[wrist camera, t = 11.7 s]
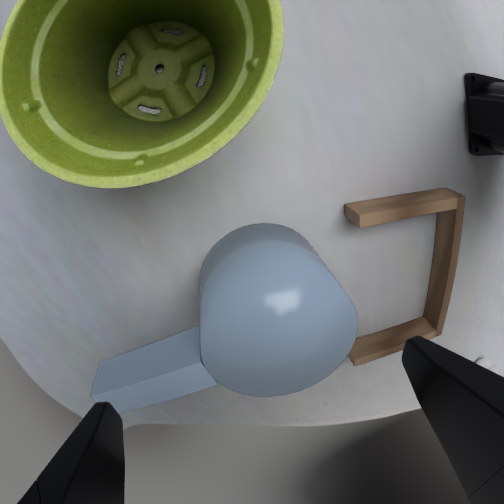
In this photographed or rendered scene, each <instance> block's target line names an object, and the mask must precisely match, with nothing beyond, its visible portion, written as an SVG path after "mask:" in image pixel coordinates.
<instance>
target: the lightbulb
mask: <svg viewBox="0 0 504 504" xmlns="http://www.w3.org/2000/svg"><path fill="white" fill-rule="evenodd" d="M476 364H478V365H480V366H482V367H484V368H486V369H488V370H491V371H493V372H495V373H497V374H499V375H501V376H503V377H504V372H503V371H502V370H501V369H499V368H498V367H497V366H496V365H495V366H494V365H493V364H492V363H491V362H490V361H489V360H488V359H487V358H482V359H479V360H477V361H476Z"/></svg>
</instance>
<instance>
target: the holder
mask: <svg viewBox="0 0 504 504" xmlns="http://www.w3.org/2000/svg"><path fill="white" fill-rule="evenodd" d="M464 202H465V196H463V195H461V194H459V193H457V192H455V191H452V190H450V189H448V188H440V189H434V190H427V191H420V192H414V193H408V194H401V195H395V196H389V197H383V198H377V199H371V200H365V201H359V202H353V203H347V204H344V206H345V216H346V217H347V218H348V219H350V220H351V221H352V222H353V223H354V224H356V225H357V226H358V227H359V228H362V227H367V226H372V225H377V224H382V223H387V222H392V221H397V220H402V219H407V218H412V217H417V216H422V215H427V214H432V213H437V224H436V235H435V245H434V254H433V262H432V269H431V276H430V283H429V289H428V295H427V300H426V306H425V311H424V316H423V317H420V318H418V319H415V320H412V321H409V322H406V323H404V324H401V325H398V326H395V327H392V328H389V329H386V330H383V331H380V332H377V333H373V334H370V335H367V336H364V337H361V338H357V339H355V342H354V344H353V346H352V348H351V350H350V352H349V354H348V356H349V358H350V360H351V361H352V363H353V365H354V366H357V365H361V364H364V363H367V362H370V361H373V360H376V359H379V358H381V357H384V356H387V355H390V354H393V353H396V352H398V351H401V350H403V349H404V345H405V341H406V340H407V339H408V338H410V337H413V336H416V335H419V336H422V337H424V338H426V339H428V340H429V339H432V338H434V337H436V336H439V335H441V333H442V329H443V325H444V321H445V318H446V314H447V309H448V305H449V301H450V296H451V292H452V287H453V282H454V277H455V271H456V266H457V260H458V253H459V247H460V240H461V232H462V223H463V213H464Z"/></svg>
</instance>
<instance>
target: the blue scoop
mask: <svg viewBox="0 0 504 504" xmlns="http://www.w3.org/2000/svg"><path fill="white" fill-rule="evenodd" d="M357 330H358V317H357V312H356V309H355V306H354V304H353V302H352V301H351V299H350V298H349V296H348V295H347V293H346V292H345V291H344V289H343V288H342V286H341V285H340V284H339V282H338V281H337V280H336V278H335V277H334V275H333V274H332V273H331V271H330V270H329V269H328V267H327V266H326V265H325V263H324V262H323V261H322V259H321V258H320V257H319V255H318V254H317V253H316V251H315V250H314V249H313V247H312V246H311V245H310V243H309V242H308V241H307V240H306V239H305V238H304V237H303V236H302V235H300V234H299V233H297V232H296V231H294V230H292V229H290V228H288V227H285V226H282V225H278V224H271V223H260V224H252V225H248V226H244V227H241V228H239V229H236V230H234V231H232V232H230V233H229V234H227V235H226V236H224V237H223V238H222V239H220V240H219V241H218V242H217V243H216V244H215V245H214V246H213V247H212V249H211V250H210V251H209V253H208V254H207V256H206V258H205V260H204V262H203V265H202V268H201V273H200V325H198V326H196V327H193V328H191V329H188V330H186V331H183V332H180V333H178V334H175V335H173V336H170V337H167V338H165V339H162V340H160V341H157V342H154V343H152V344H149V345H146V346H143V347H141V348H138V349H135V350H132V351H130V352H127V353H124V354H121V355H119V356H116V357H113V358H110V359H107V360H104V361H102V362H100V363H99V366H98V370H97V373H96V377H95V380H94V383H93V387H92V391H91V394H90V397H91V398H92V399H93V400H94V401H95V402H104V401H107V402H110V403H111V405H112V406H113V407H114V409H115V410H116V411H117V413H123V412H127V411H131V410H135V409H139V408H143V407H146V406H150V405H154V404H157V403H161V402H165V401H168V400H171V399H175V398H178V397H182V396H185V395H188V394H191V393H195V392H198V391H201V390H204V389H207V388H210V387H213V386H216V385H218V382H219V383H220V384H221V385H223V386H224V387H226V388H228V389H230V390H232V391H235V392H238V393H241V394H244V395H250V396H258V397H272V396H281V395H286V394H290V393H294V392H297V391H300V390H303V389H305V388H308V387H310V386H312V385H314V384H316V383H317V382H319V381H321V380H322V379H324V378H325V377H327V376H328V375H329V374H331V373H332V372H333V371H334V370H335V369H336V368H337V367H338V366H339V365H340V364H341V363H342V362H343V361H344V359H345V358H346V357H347V355H348V354H349V352H350V350H351V348H352V346H353V344H354V342H355V339H356V335H357Z"/></svg>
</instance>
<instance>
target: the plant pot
mask: <svg viewBox="0 0 504 504" xmlns="http://www.w3.org/2000/svg"><path fill="white" fill-rule="evenodd" d="M166 28H176V29H179V30H182V31H183V32H184V35H183V36H178V35H175V34H171V33H164V32H160V30H162V29H166ZM283 44H284V19H283V12H282V7H281V3H280V0H19V1H18V2H17V4H16V5H15V7H14V9H13V10H12V12H11V14H10V16H9V19H8V21H7V23H6V26H5V28H4V31H3V35H2V39H1V41H0V113H1V116H2V119H3V122H4V124H5V127H6V129H7V131H8V133H9V135H10V136H11V138H12V140H13V141H14V142H15V144H16V145H17V146H18V148H19V149H20V150H21V151H22V152H23V153H24V155H25V156H26V157H27V158H28V159H29V160H30V161H32V162H33V163H34V164H35V165H37V166H38V167H39V168H41V169H42V170H44V171H45V172H47V173H49V174H50V175H52V176H55V177H57V178H59V179H61V180H64V181H67V182H70V183H73V184H78V185H81V186H87V187H95V188H111V189H113V188H128V187H135V186H140V185H145V184H150V183H154V182H157V181H161V180H164V179H167V178H170V177H172V176H175V175H177V174H179V173H182V172H184V171H186V170H188V169H190V168H192V167H194V166H195V165H197V164H199V163H201V162H202V161H204V160H206V159H208V158H209V157H210V156H212V155H213V154H215V153H216V152H218V151H219V150H220V149H222V148H223V147H224V146H225V145H226V144H228V143H229V142H230V141H231V140H232V139H233V138H234V137H235V136H236V135H238V134H239V133H240V131H241V130H242V129H243V128H244V127H245V126H246V125H247V123H248V122H249V121H250V120H251V119H252V117H253V116H254V115H255V113H256V112H257V111H258V109H259V108H260V106H261V105H262V103H263V101H264V100H265V98H266V96H267V94H268V92H269V90H270V88H271V86H272V84H273V81H274V78H275V76H276V73H277V70H278V67H279V63H280V59H281V55H282V51H283ZM123 53H126V55H127V56H126V58H125V61H124V63H123V67H122V70H121V75H120V76H118V75H117V74H116V70H117V66H118V60H119V58H120V56H121V55H122V54H123ZM159 64H162V65H163V66H164V70H163V71H162V73H157V72H156V71H155V68H156V66H157V65H159ZM202 65H205V66H206V67H207V74H206V78H205V82H204V84H203V86H201V87H200V88H198V87H196V85H197V83H198V80H199V77H200V74H201V69H202ZM140 104H141V105H144V106H147V107H153V108H157V107H158V108H161V109H162V111H161V112H160V113H158V114H151V113H146V112H142V111H141V110H139V109H138V105H140Z"/></svg>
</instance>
